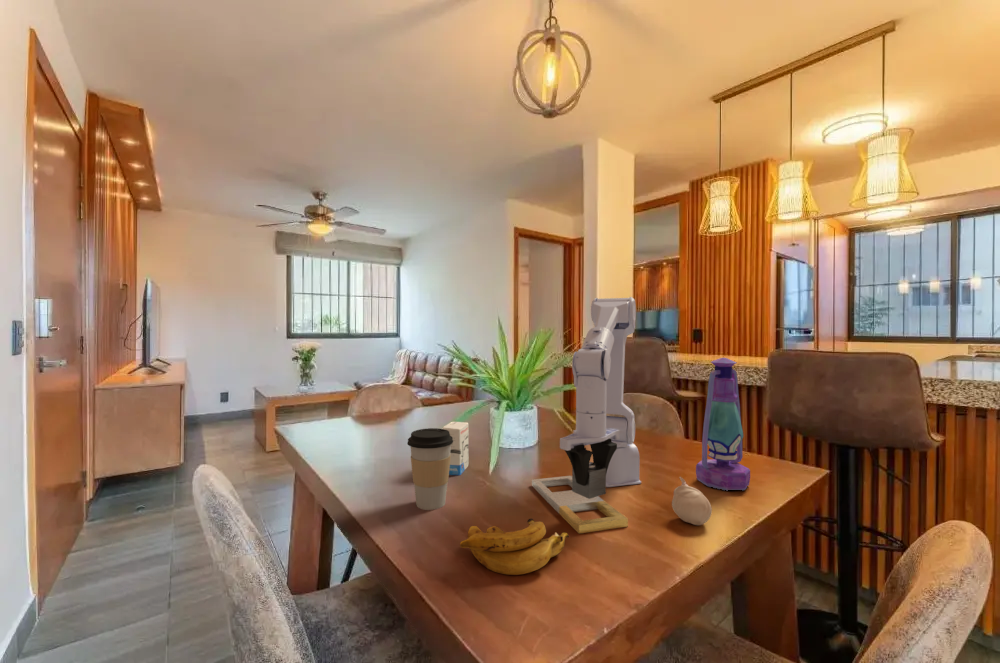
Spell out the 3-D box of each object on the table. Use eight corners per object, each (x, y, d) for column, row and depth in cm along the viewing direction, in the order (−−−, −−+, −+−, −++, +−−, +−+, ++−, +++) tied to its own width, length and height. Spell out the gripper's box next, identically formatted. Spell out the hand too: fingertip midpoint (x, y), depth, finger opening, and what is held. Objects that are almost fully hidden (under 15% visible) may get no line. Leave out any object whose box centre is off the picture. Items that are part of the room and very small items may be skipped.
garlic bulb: (705, 517, 84) (705, 476, 84) (714, 532, 78) (715, 488, 78) (669, 513, 85) (670, 473, 85) (676, 528, 79) (676, 485, 79)
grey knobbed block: (588, 486, 87) (588, 458, 87) (605, 493, 83) (605, 464, 83) (572, 491, 84) (572, 462, 84) (589, 498, 80) (589, 469, 80)
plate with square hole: (571, 481, 103) (571, 475, 103) (627, 526, 80) (627, 518, 80) (531, 486, 100) (531, 479, 100) (578, 533, 77) (578, 525, 77)
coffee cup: (460, 499, 92) (460, 429, 92) (440, 517, 83) (440, 440, 83) (421, 493, 95) (421, 425, 95) (398, 510, 87) (398, 436, 86)
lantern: (719, 472, 110) (720, 355, 110) (764, 487, 100) (765, 358, 99) (682, 480, 104) (683, 356, 104) (726, 497, 94) (727, 360, 93)
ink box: (460, 476, 106) (460, 429, 106) (441, 475, 107) (441, 428, 107) (469, 465, 115) (469, 421, 115) (451, 464, 116) (451, 420, 116)
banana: (590, 564, 67) (590, 528, 67) (476, 594, 60) (477, 553, 60) (541, 523, 81) (542, 493, 81) (445, 543, 74) (445, 510, 74)
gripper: (601, 404, 90) (600, 468, 91) (548, 411, 82) (548, 482, 82) (628, 409, 85) (627, 478, 85) (575, 418, 76) (574, 494, 76)
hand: (590, 481), depth 83 cm, fingers closed on grey knobbed block, 4 cm apart
